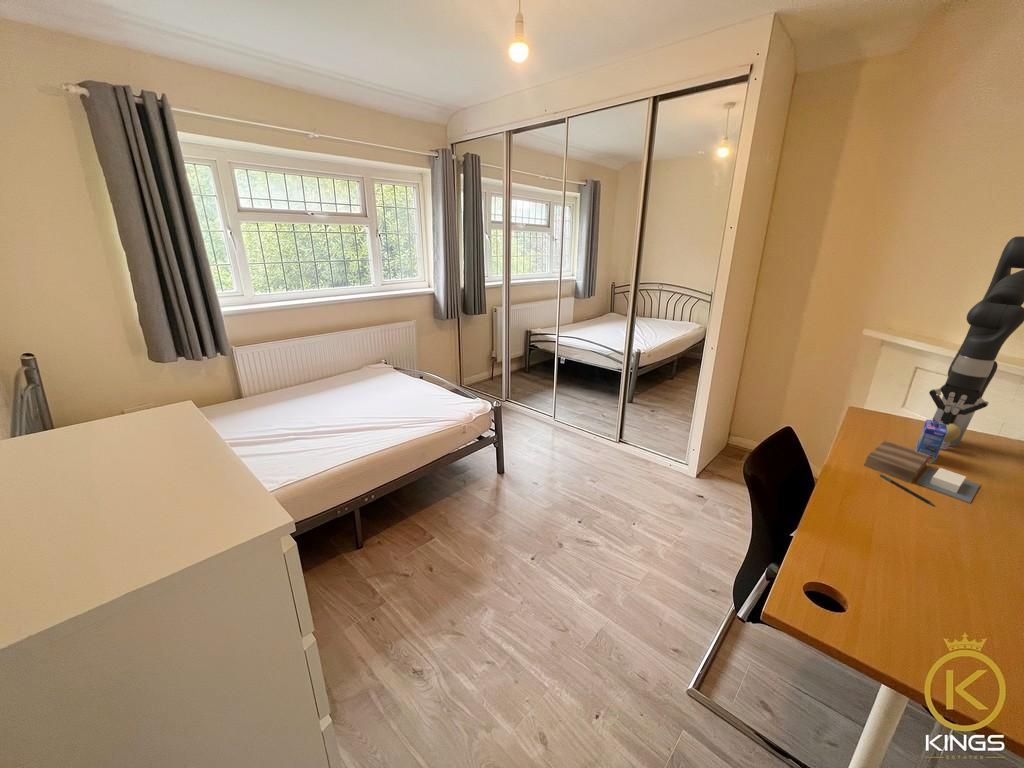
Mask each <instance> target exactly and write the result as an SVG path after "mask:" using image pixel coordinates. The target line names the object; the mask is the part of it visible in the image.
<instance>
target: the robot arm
mask: <svg viewBox="0 0 1024 768" xmlns="http://www.w3.org/2000/svg"><path fill="white" fill-rule="evenodd" d="M1012 269H1021V270H1019V271H1017V272H1014V273H1012ZM1023 305H1024V236H1014V237H1012V238H1011V239H1009V241H1007V243H1006V245H1005V247H1004V248H1003V250H1002V253H1001V255H1000V258H999V259H998V263H997V265H996V268H995V270H994V273H993V276H992V279H991V281H990V284H989V285H988V287H987V290H986V292H985V294H984V296H983V298H982V299H981V300H980V301H978V302H977V303H976V304H974V306H972V307H971V308H970V310H969V311H968V313H967V314H966V322H967V324H968V325H969V329H968V331H967V333H966V336H965V338H964V340H963V342H962V344H961V346H960V347H959V349H958V351H957V353H956V355H955V356H954V358H953V360H952V362H951V363H950V366H949V367H948V370H947V379H946V381H945V383H944V384H943V385H942V386H940V388H936V389H931V390H929V393H928V394H929V395H930V397H931V399H932V401H933V402H934V404H935V406H936V410H935V413H934V416H933V417H934V418H935V421H937V422H941V423H943V424H947V425H949V424H954V425H956V426H958V427H959V428H960V430H961V434H960V436H959V437H958V438H956V439H954V440H952V441H950V444H949V446H948V447H958V446H959V445H960V443H961V441H962V440H963V437H964V436H965V433H966V431H967V428H969V424H970V423H971V421H972V419H973V417H974V414H975V412H976V411H979V410H981V409H984V408H987V407H988V405H989V401H985V400H984V399H983V396H984V394H985V392H986V391H987V390H986V389H987V388H988V386H989V384H990V382H991V381H992V380H993V378H994V376H995V374H996V373H997V369H998V366H999V365H998V362H997V361H996V358H997V357H998V355H999V353H1000V350H1001V349H1002V347H1003V345H1004V343H1005V342H1006V341H1007V340H1008V339H1009V337H1010V336H1011V335H1012V334H1013V333H1014V332H1015V331H1016V330H1017V329H1018V328H1019V327H1020V326H1022V325H1023V323H1024V307H1023ZM941 395H942V397H941ZM931 420H933V418H932V419H931Z"/></svg>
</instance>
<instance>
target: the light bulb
mask: <svg viewBox="0 0 1024 768" xmlns="http://www.w3.org/2000/svg"><path fill="white" fill-rule="evenodd" d="M946 426H947V434H946V436H945V439H944V441H943V444H942V446H941V449H940V450H948V449H949V447H950V446H949V444H950V441H952V440H954V439H956V438H958V437H959V436H960V434H961V430H960V428H959V427H958V426H956V425H954V424H949V425H947V424H946Z"/></svg>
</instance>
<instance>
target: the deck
mask: <svg viewBox="0 0 1024 768" xmlns="http://www.w3.org/2000/svg"><path fill="white" fill-rule="evenodd" d="M929 456H930V455H927V454H924V453H921V452H918V451H915V449H912V448H909V447H905V446H902V445H900V444H897V443H893V442H891V441H888V440H887V441H886V440H883V441H882V443H880V444H879V445H878V446H877V447H876V448H874V449H873V450H872V451H871V452H870V453H869V454H868V455H867V457H866V460H865V462H864V464H863V465H864V467H867V468H869V469H872V470H875V471H878V472H880V473H882V474H886V475H888V476H891V477H893V478H897V479H898V480H902V481H905V482H906V483H913V481H914V480H915V478H916V477H917V476H918V475H919V473H921V471H922V470H923V469H924V468H925V467H926V466H927V465H926V464H927V463H928V462H927V461H928V458H929Z"/></svg>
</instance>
